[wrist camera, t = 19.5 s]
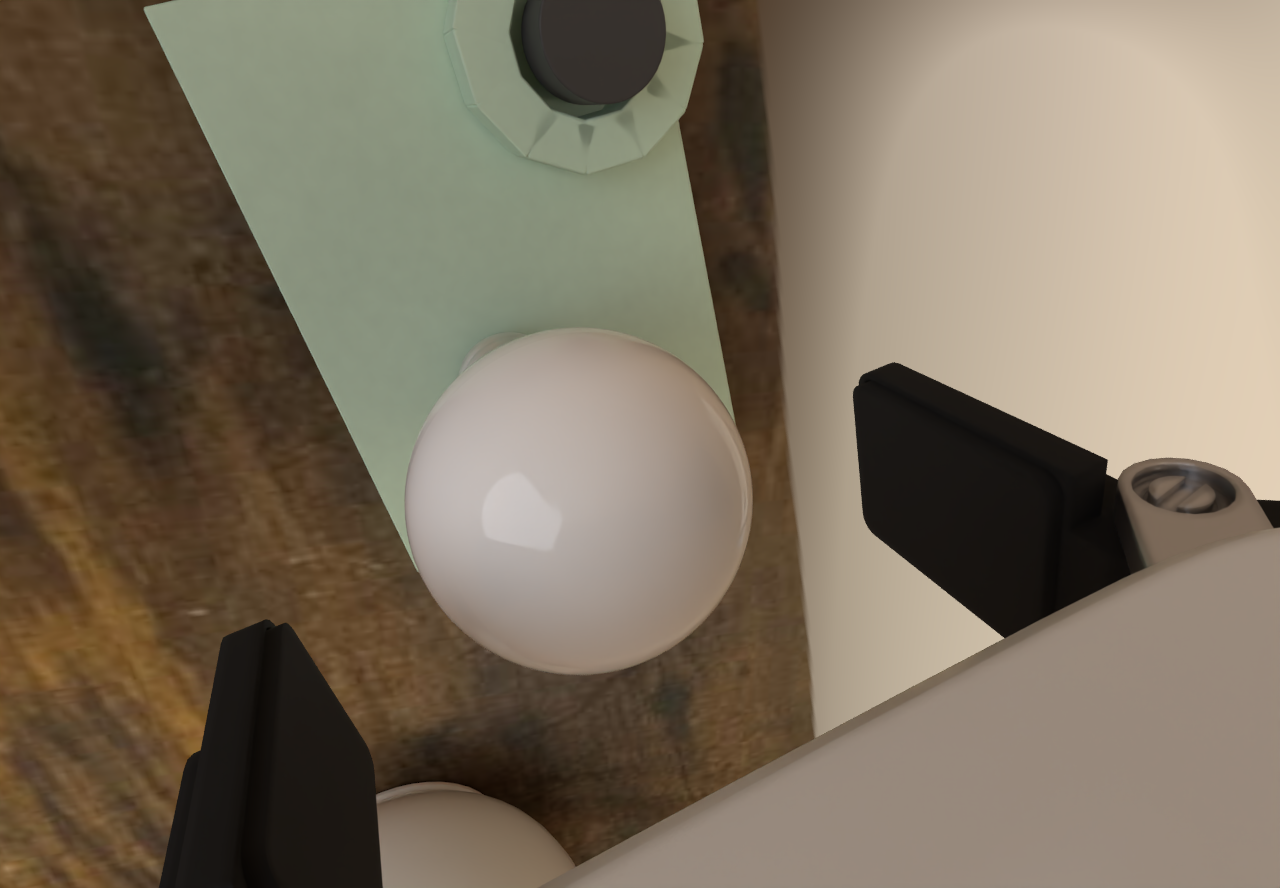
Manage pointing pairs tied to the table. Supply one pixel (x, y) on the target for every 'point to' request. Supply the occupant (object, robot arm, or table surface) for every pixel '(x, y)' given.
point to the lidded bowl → (462, 840)
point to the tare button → (593, 47)
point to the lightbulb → (577, 499)
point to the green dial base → (443, 193)
